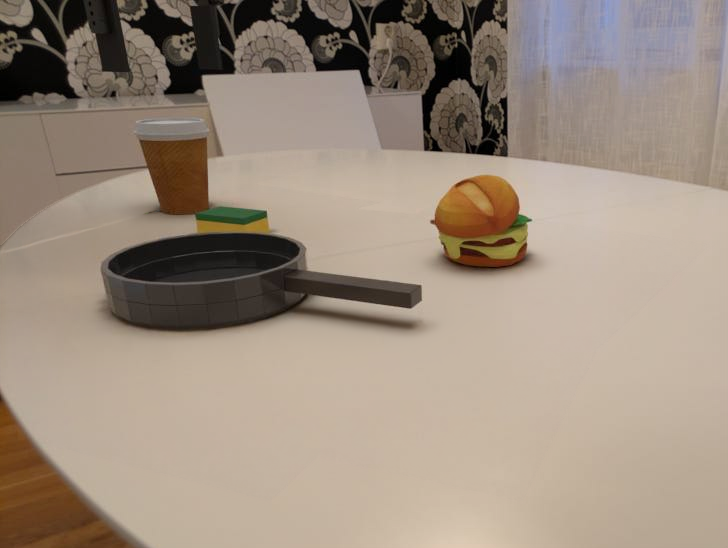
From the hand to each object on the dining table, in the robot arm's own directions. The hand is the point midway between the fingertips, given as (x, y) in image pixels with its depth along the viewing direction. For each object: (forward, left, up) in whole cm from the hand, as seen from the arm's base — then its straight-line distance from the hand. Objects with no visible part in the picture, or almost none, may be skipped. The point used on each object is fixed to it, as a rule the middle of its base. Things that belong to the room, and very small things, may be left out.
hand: (167, 71), depth 72 cm
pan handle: (+30, -15, -17) cm, 37 cm away
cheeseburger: (+34, +6, -19) cm, 39 cm away
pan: (+15, -15, -19) cm, 28 cm away
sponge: (+2, +4, -19) cm, 19 cm away
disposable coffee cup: (-14, +14, -19) cm, 27 cm away
